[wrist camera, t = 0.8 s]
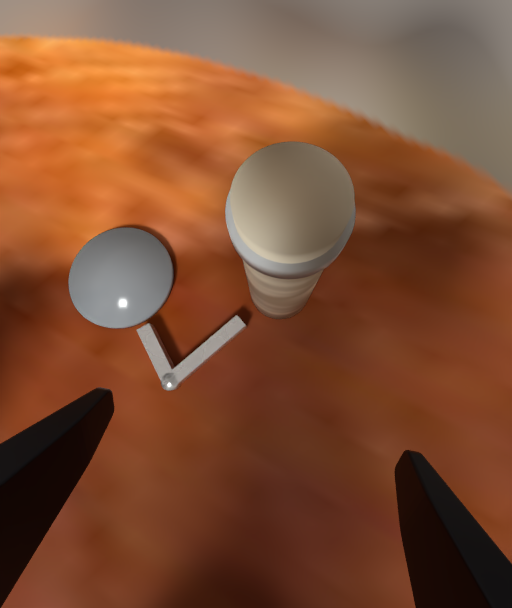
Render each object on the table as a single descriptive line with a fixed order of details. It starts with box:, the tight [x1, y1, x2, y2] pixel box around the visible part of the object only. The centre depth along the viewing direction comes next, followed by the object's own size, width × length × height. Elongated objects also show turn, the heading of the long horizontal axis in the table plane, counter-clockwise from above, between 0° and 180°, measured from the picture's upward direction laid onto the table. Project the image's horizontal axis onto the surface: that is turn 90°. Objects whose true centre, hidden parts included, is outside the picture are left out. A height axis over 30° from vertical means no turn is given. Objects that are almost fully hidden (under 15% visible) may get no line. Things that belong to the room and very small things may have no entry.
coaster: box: [69, 227, 174, 329], centre depth 24 cm, size 8×8×1 cm
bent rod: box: [137, 315, 247, 390], centre depth 23 cm, size 7×5×1 cm
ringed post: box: [225, 142, 356, 319], centre depth 17 cm, size 5×5×13 cm
